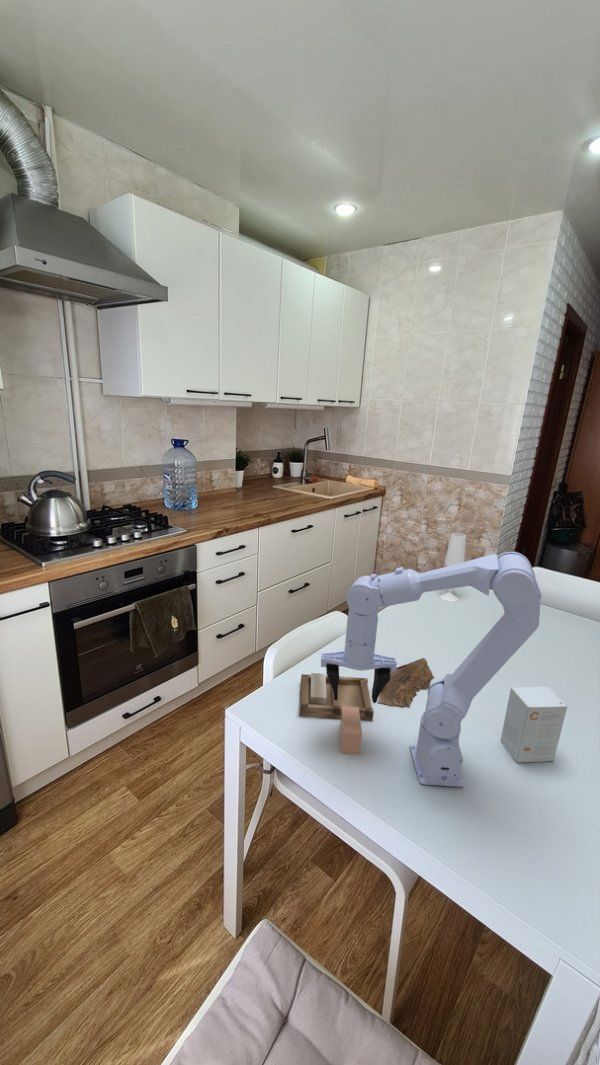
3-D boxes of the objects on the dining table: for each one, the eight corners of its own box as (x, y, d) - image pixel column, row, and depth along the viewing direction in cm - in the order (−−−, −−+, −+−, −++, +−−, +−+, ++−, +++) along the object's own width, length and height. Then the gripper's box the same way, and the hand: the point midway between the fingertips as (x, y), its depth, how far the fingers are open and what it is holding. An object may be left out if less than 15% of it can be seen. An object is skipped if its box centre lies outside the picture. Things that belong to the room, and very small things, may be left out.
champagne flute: (456, 594, 166) (466, 532, 159) (460, 602, 159) (471, 538, 153) (438, 593, 167) (447, 531, 160) (441, 600, 160) (450, 536, 153)
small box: (535, 738, 95) (547, 685, 91) (554, 762, 89) (568, 706, 85) (498, 739, 94) (510, 686, 90) (515, 763, 88) (528, 707, 84)
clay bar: (359, 755, 88) (362, 734, 86) (341, 754, 88) (343, 732, 87) (356, 727, 95) (358, 707, 94) (339, 725, 96) (341, 705, 94)
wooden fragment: (401, 716, 100) (401, 712, 99) (359, 695, 106) (359, 691, 106) (447, 669, 119) (448, 666, 118) (410, 654, 125) (410, 650, 125)
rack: (366, 687, 109) (367, 672, 108) (372, 721, 97) (374, 705, 96) (300, 683, 109) (301, 668, 108) (299, 716, 98) (300, 700, 96)
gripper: (395, 630, 89) (387, 688, 93) (322, 625, 90) (318, 683, 93) (401, 648, 83) (393, 711, 86) (323, 643, 83) (318, 705, 87)
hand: (354, 698), depth 89 cm, fingers open, 7 cm apart
